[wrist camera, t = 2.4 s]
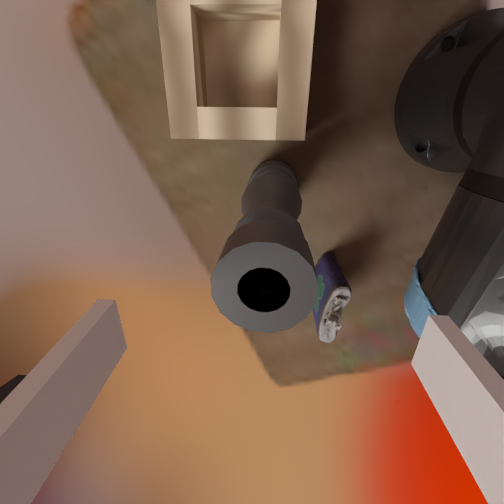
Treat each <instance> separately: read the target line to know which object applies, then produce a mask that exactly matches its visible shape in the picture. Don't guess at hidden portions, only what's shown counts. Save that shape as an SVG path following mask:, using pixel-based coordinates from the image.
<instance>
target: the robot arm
mask: <svg viewBox="0 0 504 504" xmlns="http://www.w3.org/2000/svg"><path fill="white" fill-rule="evenodd" d="M395 127H396V132H397V136H398V138H399V141H400V143H401V145H402V147H403V148H404V150H405V151H406V152H407V153H408V154H409V156H411V157H412V158H413V159H414V160H415V161H417V162H419V163H420V164H422V165H425V166H427V167H430V168H433V169H436V170H439V171H444V172H465V174H464V175H463V177H462V179H461V181H460V183H459V185H458V187H457V189H456V191H455V193H454V195H453V197H452V199H451V201H450V202H449V204H448V206H447V208H446V210H445V212H444V214H443V216H442V218H441V220H440V222H439V224H438V226H437V228H436V230H435V232H434V234H433V236H432V238H431V240H430V242H429V244H428V245H427V247H426V249H425V251H424V253H423V255H422V257H421V258H419V259H418V260H417V262H416V264H415V266H414V274H413V276H412V278H411V281H410V283H409V285H408V288H407V290H406V292H405V296H404V308H405V312H406V314H407V316H408V318H409V319H410V324H411V326H412V328H413V329H414V331H415V332H416V334H417V335H418V337H419V338H420V340H419V343H418V346H417V349H416V351H415V354H414V357H413V360H412V363H411V364H412V366H413V368H414V370H415V372H416V373H417V375H418V377H419V379H420V381H421V382H422V384H423V386H424V388H425V390H426V391H427V393H428V395H429V397H430V398H431V400H432V402H433V404H434V406H435V408H436V410H437V411H438V413H439V415H440V417H441V419H442V420H443V422H444V424H445V426H446V428H447V430H448V431H449V433H450V435H451V436H452V438H453V440H454V442H455V444H456V446H457V448H458V449H459V451H460V453H461V455H462V457H463V458H464V460H465V462H466V464H467V466H468V468H469V469H470V471H471V473H472V475H473V477H474V478H475V480H476V482H477V484H478V486H479V487H480V489H481V491H482V493H483V495H484V497H485V498H486V500H487V502H488V504H504V8H498V9H492V10H488V11H484V12H481V13H478V14H475V15H473V16H471V17H468V18H466V19H464V20H462V21H460V22H458V23H456V24H454V25H452V26H450V27H449V28H447V29H446V30H444V31H443V32H441V33H440V34H438V35H437V36H436V37H435V38H434V39H432V40H431V41H430V42H429V43H428V44H427V45H426V46H425V47H424V48H423V49H422V51H421V52H420V53H419V54H418V55H417V57H416V58H415V59H414V61H413V62H412V64H411V65H410V67H409V69H408V70H407V72H406V74H405V76H404V78H403V80H402V83H401V85H400V88H399V91H398V95H397V99H396V104H395ZM126 349H127V345H126V341H125V337H124V333H123V329H122V325H121V321H120V317H119V313H118V309H117V305H116V301H115V300H107V299H105V300H104V299H98V300H97V301H96V302H95V303H94V304H93V305H92V306H91V307H90V308H89V309H88V310H87V312H86V313H85V314H84V315H83V316H82V317H81V318H80V319H79V320H78V321H77V322H76V323H75V324H74V325H73V327H72V328H71V329H70V330H69V331H68V332H67V333H66V334H65V335H64V336H63V337H62V338H61V340H60V341H59V342H58V343H57V344H56V345H55V346H54V347H53V348H52V349H51V350H50V351H49V352H48V353H47V354H46V355H45V357H44V358H43V359H42V360H41V361H40V362H39V363H38V364H37V365H36V366H35V368H34V369H33V370H32V371H31V372H30V373H29V374H28V375H17V376H16V377H14V378H13V379H12V380H10V381H9V382H7V383H6V384H4V385H3V386H1V387H0V504H31V503H32V501H33V499H34V498H35V496H36V494H37V493H38V491H39V489H40V488H41V486H42V485H43V483H44V481H45V480H46V478H47V476H48V475H49V473H50V472H51V470H52V468H53V467H54V465H55V464H56V462H57V460H58V459H59V457H60V456H61V454H62V452H63V451H64V449H65V447H66V446H67V444H68V443H69V441H70V439H71V438H72V436H73V434H74V433H75V431H76V430H77V428H78V426H79V425H80V423H81V421H82V420H83V418H84V417H85V415H86V413H87V412H88V410H89V408H90V407H91V405H92V404H93V402H94V400H95V399H96V397H97V395H98V394H99V392H100V391H101V389H102V387H103V386H104V384H105V383H106V381H107V379H108V378H109V376H110V375H111V373H112V371H113V370H114V368H115V366H116V365H117V363H118V362H119V360H120V358H121V357H122V355H123V353H124V352H125V350H126Z"/></svg>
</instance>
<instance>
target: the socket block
mask: <svg viewBox="0 0 504 504" xmlns="http://www.w3.org/2000/svg"><path fill="white" fill-rule="evenodd" d="M156 4H157V13H158V23H159V32H160V41H161V50H162V59H163V69H164V78H165V87H166V96H167V105H168V115H169V124H170V133H171V138H173V139H235V140H297V141H305V132H306V120H307V109H308V97H309V85H310V74H311V62H312V50H313V39H314V27H315V16H316V4H317V0H156Z"/></svg>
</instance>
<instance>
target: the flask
mask: <svg viewBox="0 0 504 504" xmlns="http://www.w3.org/2000/svg"><path fill="white" fill-rule="evenodd" d="M315 271H316V276H317V280H318V284H319V286H318V294H317V301H316V304H315V305H314V307H313V308H312V310H313V313H314V318H315V323H316V328H317V333H318V337H319V339H320V340H321V341H323V342H325V343H326V342H331V341H334V339H335V338H336V336H337V330H339V329H340V328H341V327H342V325H340V326H339V325H338V323H339V320H340V317H341V315H342V311H343V310H344V307H345V306H346V304H347V302H349V301H350V298H351V296H352V292H351V288H350V286H349V284H348V282H347V280H346V278H345V276H344V274H343V271H342V269H341V267H340V265H339V263H338V262H337V259H336V256H335V255H334V253H330V252H327V253H324V254H323V255H321V257H320V258H319V260H318V263H317V265H316V266H315Z"/></svg>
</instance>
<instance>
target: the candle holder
mask: <svg viewBox="0 0 504 504" xmlns="http://www.w3.org/2000/svg"><path fill="white" fill-rule="evenodd" d="M301 205H302V200H301V197H300V193H299V190H298V183H297V179H296V176H295V173H294V171H293V170H292V169H291V168H290V166H289V165H288V164H286V163H284V162H282V161H279V160H269V161H266V162H264V163H261V164H260V165H259V166H258V167H257V168H256V169H255V170H254V171H253V173H252V176H251V178H250V180H249V183H248V186H247V188H246V190H245V192H244V195H243V197H242V212H243V215H244V217H243V218H242V219H240V220H239V221H238V223H237V226H236V228H235V230H234V232H233V234H231V235H230V236H229V237H228V239H227V241H226V244H225V246H224V248H223V250H222V253H221V255H220V258H219V260H218V262H217V265H216V267H215V270H214V272H213V274H212V277H211V293H212V298H213V300H214V301H215V303H216V305H217V307H218V309H219V311H220V312H221V313H222V314H223V315H224V316H225V317H226V318H228V319H229V320H230V321H231V322H232V323H234V324H235V325H238V326H240V327H243V328H245V329H248V330H250V331H255V332H269V333H272V332H277V331H281V330H285V329H289V328H291V327H293V326H295V325H296V324H298V323H299V322H301V321H302V320H304V319H305V318H306V317H307V316H308V314H309V313H310V311H311V310H312V308H313V307H314V305H315V304H316V301H317V294H318V286H319V284H318V280H317V276H316V271H315V267H314V262H313V258H312V255H311V252H310V249H309V246H308V243H307V241H306V240H305V238H304V235H303V232H302V229H301V226H300V224H299V223H298V222H297V219H298V217H299V215H300V213H301Z"/></svg>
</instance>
